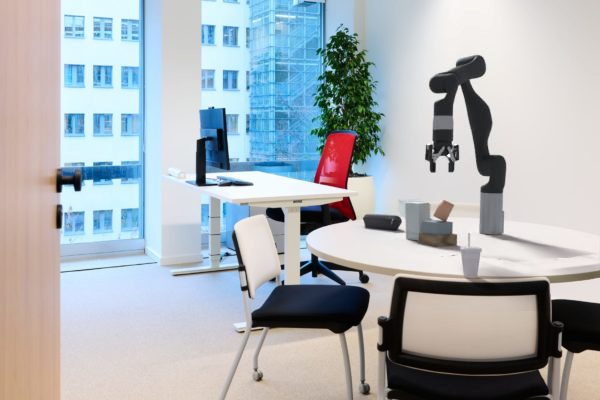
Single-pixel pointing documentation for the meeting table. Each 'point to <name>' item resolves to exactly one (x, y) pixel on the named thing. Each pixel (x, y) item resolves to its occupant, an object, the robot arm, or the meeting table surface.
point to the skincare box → (415, 218)
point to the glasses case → (382, 221)
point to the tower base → (437, 240)
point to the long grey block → (402, 205)
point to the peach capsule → (443, 210)
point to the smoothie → (470, 259)
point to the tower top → (437, 227)
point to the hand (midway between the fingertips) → (442, 172)
